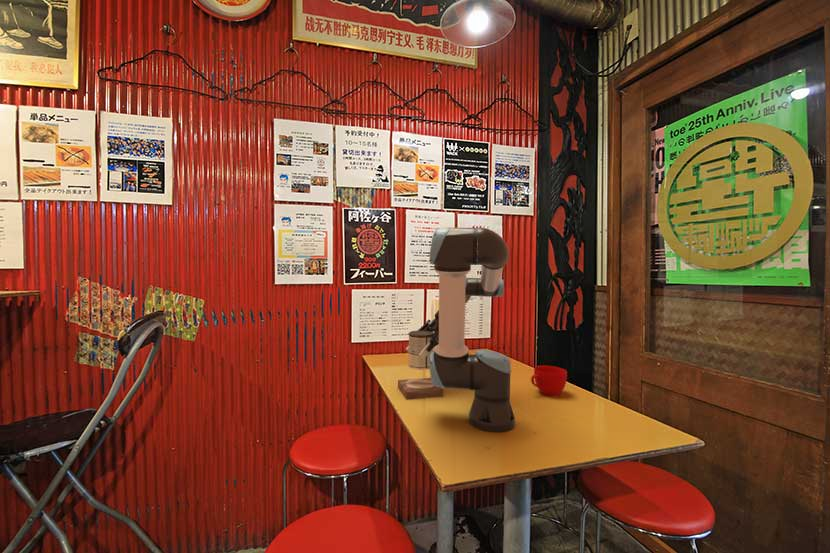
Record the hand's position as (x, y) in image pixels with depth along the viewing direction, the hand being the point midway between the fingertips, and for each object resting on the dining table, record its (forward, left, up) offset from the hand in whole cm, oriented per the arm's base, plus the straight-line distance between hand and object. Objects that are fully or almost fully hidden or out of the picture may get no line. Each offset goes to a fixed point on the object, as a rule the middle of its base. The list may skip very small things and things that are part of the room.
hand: (414, 354), depth 146 cm
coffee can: (+1, -3, -6) cm, 6 cm away
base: (0, -3, -16) cm, 16 cm away
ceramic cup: (-14, -54, -16) cm, 58 cm away
